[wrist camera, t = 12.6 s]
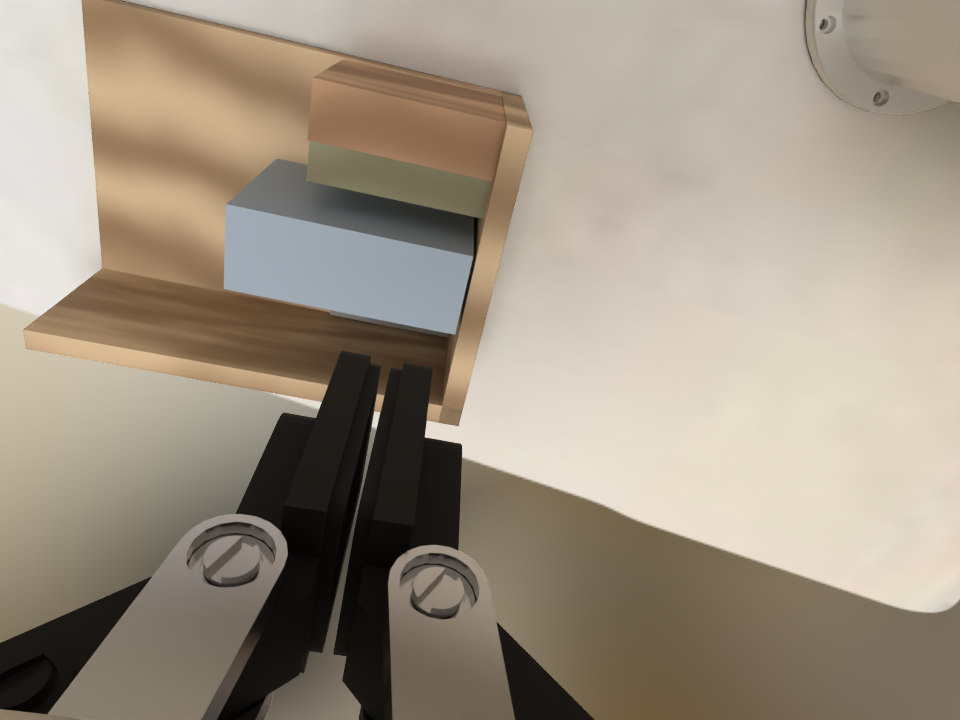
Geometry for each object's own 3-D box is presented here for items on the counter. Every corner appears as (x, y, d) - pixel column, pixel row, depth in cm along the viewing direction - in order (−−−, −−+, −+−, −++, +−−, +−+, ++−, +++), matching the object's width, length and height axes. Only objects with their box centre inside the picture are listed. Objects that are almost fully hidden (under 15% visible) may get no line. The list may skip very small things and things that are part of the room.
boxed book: (276, 158, 39) (225, 204, 31) (474, 202, 40) (473, 256, 32) (272, 229, 41) (223, 289, 33) (459, 268, 42) (455, 334, 34)
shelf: (95, -6, 36) (-27, 0, 27) (521, 96, 38) (533, 130, 30) (114, 275, 44) (26, 348, 35) (462, 342, 47) (458, 426, 38)
